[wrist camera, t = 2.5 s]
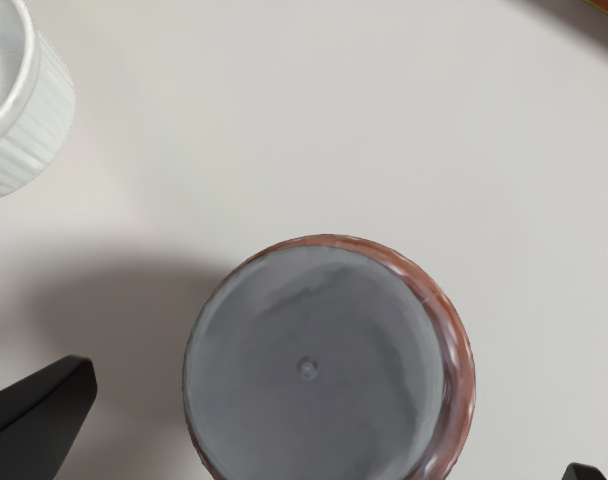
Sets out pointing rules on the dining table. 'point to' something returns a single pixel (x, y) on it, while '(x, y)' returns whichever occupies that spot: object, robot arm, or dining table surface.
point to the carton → (599, 5)
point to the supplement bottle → (328, 368)
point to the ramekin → (30, 98)
